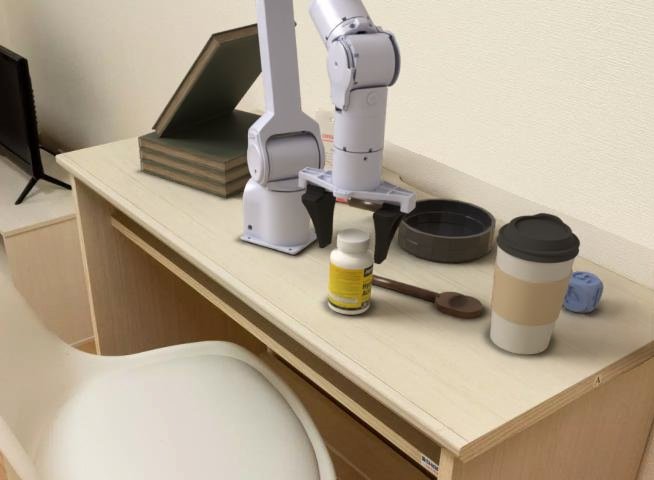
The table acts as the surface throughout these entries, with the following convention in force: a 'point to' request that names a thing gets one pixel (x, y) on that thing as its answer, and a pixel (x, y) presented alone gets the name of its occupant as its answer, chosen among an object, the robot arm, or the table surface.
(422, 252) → the frying pan
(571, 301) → the decorative dice
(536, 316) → the coffee cup
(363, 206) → the pan handle
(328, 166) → the ink cartridge box
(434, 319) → the table surface
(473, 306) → the walnut spoon
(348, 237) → the supplement bottle
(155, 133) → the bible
